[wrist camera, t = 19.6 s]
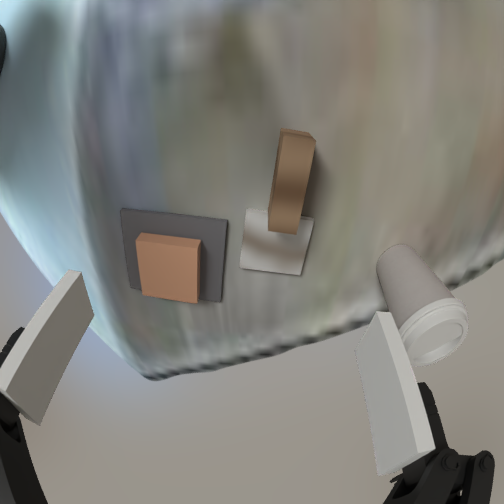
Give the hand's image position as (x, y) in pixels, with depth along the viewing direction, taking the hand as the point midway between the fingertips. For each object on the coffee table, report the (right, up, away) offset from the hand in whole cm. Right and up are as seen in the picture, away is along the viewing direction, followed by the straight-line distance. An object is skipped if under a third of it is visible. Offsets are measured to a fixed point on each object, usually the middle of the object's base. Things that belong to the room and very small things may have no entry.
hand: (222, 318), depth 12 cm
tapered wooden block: (+5, +7, +22) cm, 24 cm away
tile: (-9, +4, +23) cm, 25 cm away
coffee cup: (+22, +1, +25) cm, 33 cm away
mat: (-9, +2, +26) cm, 28 cm away
